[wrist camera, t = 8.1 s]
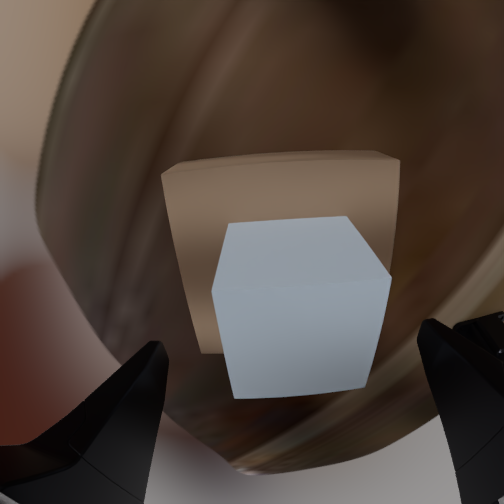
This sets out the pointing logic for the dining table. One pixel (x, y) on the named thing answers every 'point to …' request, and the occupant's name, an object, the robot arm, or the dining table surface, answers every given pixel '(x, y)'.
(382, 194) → the tan flat block
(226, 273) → the slate block
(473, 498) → the robot arm
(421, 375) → the dining table surface
